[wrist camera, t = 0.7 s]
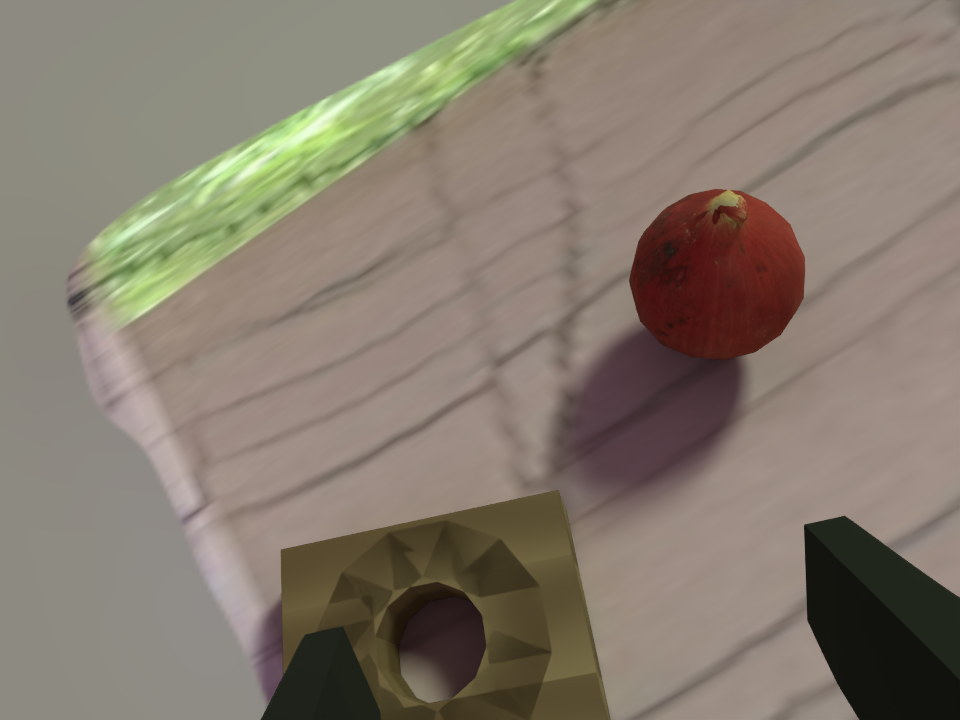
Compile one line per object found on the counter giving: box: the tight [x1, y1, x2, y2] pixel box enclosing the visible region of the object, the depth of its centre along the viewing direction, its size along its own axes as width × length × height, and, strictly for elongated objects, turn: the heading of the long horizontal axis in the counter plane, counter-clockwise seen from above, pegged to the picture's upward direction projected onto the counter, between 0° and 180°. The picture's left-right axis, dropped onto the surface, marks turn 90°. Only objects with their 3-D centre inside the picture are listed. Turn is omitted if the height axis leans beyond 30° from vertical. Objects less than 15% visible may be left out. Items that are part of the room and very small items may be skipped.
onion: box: [629, 189, 805, 360], centre depth 27 cm, size 6×6×8 cm
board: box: [281, 490, 611, 720], centre depth 25 cm, size 8×10×2 cm
